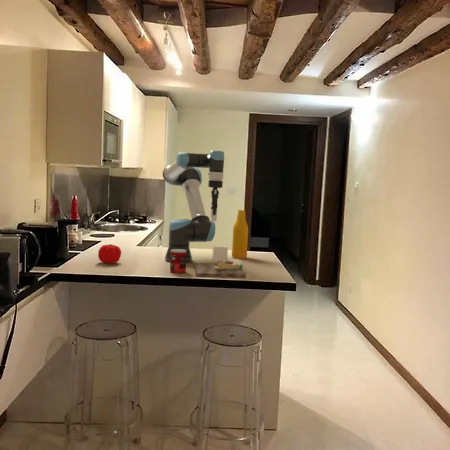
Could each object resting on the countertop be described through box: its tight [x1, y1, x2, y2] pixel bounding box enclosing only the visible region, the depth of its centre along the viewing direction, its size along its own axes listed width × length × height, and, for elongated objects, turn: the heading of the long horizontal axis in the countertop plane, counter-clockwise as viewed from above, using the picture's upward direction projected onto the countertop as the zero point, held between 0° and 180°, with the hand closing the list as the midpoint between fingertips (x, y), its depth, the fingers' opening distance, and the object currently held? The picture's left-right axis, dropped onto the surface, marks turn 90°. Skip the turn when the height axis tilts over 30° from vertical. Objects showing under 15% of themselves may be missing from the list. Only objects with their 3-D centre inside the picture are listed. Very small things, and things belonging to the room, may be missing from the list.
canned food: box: [169, 249, 187, 274], centre depth 236 cm, size 8×8×11 cm
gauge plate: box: [195, 260, 246, 279], centre depth 240 cm, size 24×24×4 cm
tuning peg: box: [212, 245, 240, 269], centre depth 241 cm, size 5×14×11 cm, turn 102°
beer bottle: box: [231, 209, 249, 260], centre depth 284 cm, size 9×9×29 cm
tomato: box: [97, 243, 122, 265], centre depth 251 cm, size 12×12×10 cm
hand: (213, 219), depth 253 cm, fingers open, 13 cm apart
